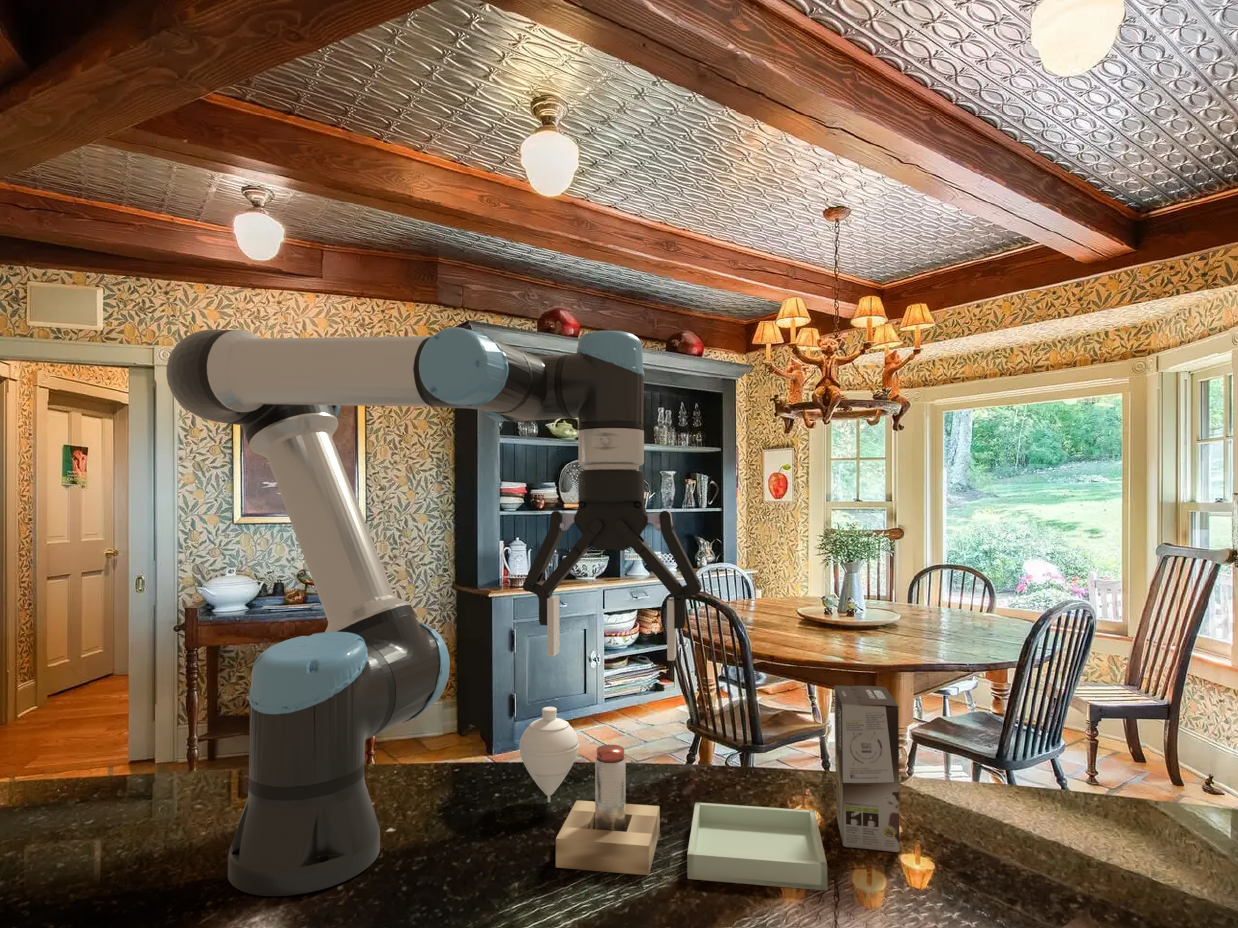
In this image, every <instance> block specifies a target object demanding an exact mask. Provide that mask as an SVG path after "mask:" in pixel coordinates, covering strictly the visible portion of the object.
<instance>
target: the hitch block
mask: <svg viewBox="0 0 1238 928" xmlns="http://www.w3.org/2000/svg"><path fill="white" fill-rule="evenodd" d="M660 811H661V810H660V806H659V805H650V804H649V805H648V804H633V803H625V832H622V831H609V830H596V829H595V801H591V800H576V801H575V802H574V804H573V806H572V808H571V809H570V812H569V813H568V815H567V817H566V819H565V820H564V823H562V826H561V828H560V830H559V832H558V834H557V836H556V838H555V868H560V869H571V870H582V871H594V872H606V873H616V874H617V873H618V874H628V875H630V874H631V875H639V876H640V875H643V876H650V873H651V869H652V864H653V861H654V857H655V852H656V848H657V844H658V840H659V836H660V832H661V831H660V830H661V829H660V828H661V827H660V824H661V823H660V822H661V821H660V819H661V818H660V816H661V815H660V814H661V813H660Z"/></svg>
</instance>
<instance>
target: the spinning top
mask: <svg viewBox="0 0 1238 928" xmlns="http://www.w3.org/2000/svg"><path fill="white" fill-rule="evenodd" d="M557 710H558V709H557V708H556V707H554V706H546V707H542V708H541V714H542V717H541V718H538V719H536V720H535V719H534V721H532V722H530V723H529V725H528V726H527V728H526V729H525V730H524V731H523V733H522V735H521V737H520V740H519V745H518V747H519V748H518V749H519V755H520V758H521V760H522V762H523V764H524V767H525V768H526V771H527V772H528V773H529V775H530V777H531V778H532V779H533V781H534V782H535V784H536V785H537V786H538V788H539V789H540V790H541V791H542V792H543V793H544V795H546V796H547V801H546V802H547V803H551V796H552V795H554V793H555V792H556V791H557V789H558V788H559V787H560V786H561V784H562V782H564V780H565V778H566V776H567V775H568V774H569V772H570V770H571V769H572V767H573V765H574V763H575V761H576V758H577V756H578V753H579V747H580V743H579V737H578V735H577V733H576V731H575V729H574V728H573V726H571V725H570V723H569V722H568V721H567V720H565V719H564V718H563V719H562V718H559V717H557V713H558V712H557Z"/></svg>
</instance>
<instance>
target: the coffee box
mask: <svg viewBox="0 0 1238 928" xmlns="http://www.w3.org/2000/svg"><path fill="white" fill-rule="evenodd" d="M833 687H834V688H833V693H834V698H833V699H834V701H833V702H834V706H833V707H834V753H835V754H834V755H835V756H834V759H835V760H834V762H835V764H834V765H835V801H836V803H835V808H836V809H835V810H836V813H835V814H836V815H835V817H836V819H837V820H836V821H837V824H838V830H839V835H840V838H841V842H842V846H843V847H844V848H854V849H862V850H863V849H865V850H871V851H872V850H873V851H885V852H889V853H890V852H893V853H899V852H900V850H901V849H900V848H901V847H900V846H901V845H900V837H901V836H900V835H901V833H900V832H901V831H900V781H899V780H900V762H899V761H900V758H899V757H900V752H899V751H900V744H899V743H900V737H899V735H900V734H899V732H900V731H899V727H900V726H899V709H900V706H899V704H898V703H897V702H896V700H895V699H894V697H893V696H892V694H891V693H890V692H889V690H888V688H887V687H886V686H879V685H878V686H877V685H876V686H875V685H874V686H873V685H837V684H836V685H834V686H833Z"/></svg>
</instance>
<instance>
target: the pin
mask: <svg viewBox="0 0 1238 928" xmlns="http://www.w3.org/2000/svg"><path fill="white" fill-rule="evenodd" d="M626 758H627V757H625V748H624V746H621V745H618V744H604V745H600V746H597V748H596V756H595V768H594V769H595V772H594V773H595V774H594V778H595V779H594V783H595V788H594V789H595V790H594V791H595V792H594V793H595V794H594V795H595V796H594V799H595V801H594V802H595V829H596V830H609V831H622V832H625V804H626V792H627V791H626V784H627V783H626V782H627V781H626V776H627V775H626V774H627V773H626V771H627V770H626V766H627V765H626V761H627V760H626Z"/></svg>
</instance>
